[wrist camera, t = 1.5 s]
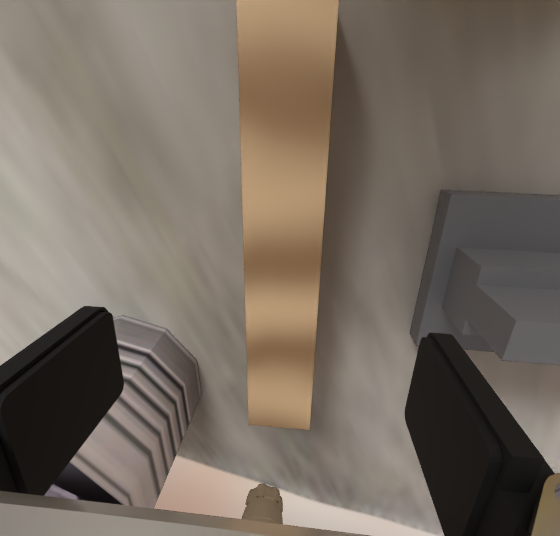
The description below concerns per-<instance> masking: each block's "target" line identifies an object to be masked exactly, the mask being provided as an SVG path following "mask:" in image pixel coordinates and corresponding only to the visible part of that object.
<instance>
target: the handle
mask: <svg viewBox="0 0 560 536" xmlns="http://www.w3.org/2000/svg"><path fill="white" fill-rule="evenodd" d="M246 505H247V507H246V508H245V511H244V514H243V516H242V519H243V520H251V521H259V522H267V523H275V524H283V523H282V511H283V507H282V506H283V503H282V497H281V496H280V493H279V490H278V489H277V488H276V487H269V486H267V485H265V484H259V485H258V487H256V488H254V489H251V490H250V491H249V494H248V496H247V500H246Z"/></svg>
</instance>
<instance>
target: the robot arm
mask: <svg viewBox="0 0 560 536" xmlns="http://www.w3.org/2000/svg"><path fill="white" fill-rule="evenodd" d="M123 388H124V379H123V374H122V368H121V362H120V356H119V350H118V344H117V338H116V332H115V326H114V321H113V316H112V314H111V313H109V312H108V311H107V309H106V308H104V307H92V306H84V307H82V308H81V309H79V310H78V311H76V312H75V313H74V314H72V315H71V316H69V317H68V318H67V319H65V320H64V321H62V322H61V323H60V324H58V325H57V326H55V327H54V328H53V329H51V330H50V331H48V332H47V333H46V334H44V335H43V336H41V337H40V338H39V339H37V340H36V341H34V342H33V343H32V344H30V345H29V346H27V347H26V348H25V349H23V350H22V351H20V352H19V353H18V354H16V355H15V356H13V357H12V358H11V359H9V360H8V361H6V362H5V363H4V364H2V365H1V366H0V536H368V535H361V534H353V533H345V532H338V531H330V530H321V529H314V528H306V527H298V526H291V525H283V524H275V523H267V522H259V521H251V520H243V519H235V518H225V517H218V516H210V515H202V514H194V513H185V512H177V511H168V510H160V509H152V508H144V507H135V506H127V505H119V504H110V503H101V502H93V501H84V500H75V499H67V498H58V497H49V496H44V495H45V494H46V492H47V491H48V490H49V489H50V487H51V486H52V485H53V483H54V482H55V481H56V479H57V478H58V477H59V475H60V474H61V473H62V471H63V470H64V469H65V467H66V466H67V465H68V464H69V462H70V461H71V460H72V458H73V457H74V456H75V454H76V453H77V452H78V450H79V449H80V448H81V446H82V445H83V444H84V442H85V441H86V440H87V438H88V437H89V436H90V435H91V433H92V432H93V431H94V429H95V428H96V427H97V425H98V424H99V423H100V421H101V420H102V419H103V417H104V416H105V415H106V413H107V412H108V411H109V410H110V408H111V407H112V406H113V404H114V403H115V402H116V400H117V399H118V398H119V396H120V395H121V393H122V391H123ZM405 420H406V424H407V427H408V430H409V433H410V436H411V439H412V441H413V444H414V447H415V450H416V453H417V456H418V459H419V462H420V465H421V468H422V471H423V474H424V477H425V480H426V483H427V486H428V488H429V491H430V494H431V497H432V500H433V503H434V506H435V509H436V512H437V515H438V518H439V521H440V524H441V527H442V530H443V533H444V535H445V536H560V473H556V474H555V473H554V472H553V471H552V469H551V468H550V467H549V465H548V464H547V462H546V461H545V459H544V458H543V457H542V455H541V454H540V452H539V451H538V450H537V448H536V447H535V446H534V444H533V443H532V442H531V440H530V439H529V438H528V436H527V435H526V434H525V432H524V431H523V429H522V428H521V427H520V425H519V424H518V423H517V421H516V420H515V419H514V417H513V416H512V415H511V413H510V412H509V411H508V409H507V408H506V407H505V405H504V404H503V402H502V401H501V400H500V398H499V397H498V396H497V394H496V393H495V392H494V390H493V389H492V388H491V386H490V385H489V384H488V382H487V381H486V379H485V378H484V377H483V375H482V374H481V373H480V371H479V370H478V369H477V367H476V366H475V365H474V363H473V362H472V361H471V359H470V358H469V356H468V355H467V354H466V352H465V351H464V350H463V348H462V347H461V346H460V344H459V343H458V342H457V340H456V339H455V338H454V336H453V335H452V334H444V333H431V332H430V333H429V334H428V335H427V337H422V338H421V340H420V344H419V349H418V353H417V358H416V362H415V367H414V371H413V376H412V380H411V385H410V389H409V394H408V398H407V402H406V407H405Z"/></svg>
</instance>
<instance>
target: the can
mask: <svg viewBox="0 0 560 536" xmlns="http://www.w3.org/2000/svg"><path fill="white" fill-rule="evenodd" d="M113 321H114V326H115V332H116V338H117V344H118V350H119V356H120V362H121V368H122V374H123V379H124V388H123V391H122V393H121V395H120V396H119V398H118V399H117V400H116V402H115V403H114V404H113V406H112V407H111V408H110V410H109V411H108V412H107V413H106V415H105V416H104V417H103V419H102V420H101V421H100V423H99V424H98V425H97V427H96V428H95V429H94V431H93V432H92V433H91V435H90V436H89V437H88V438H87V440H86V441H85V442H84V444H83V445H82V446H81V448H80V449H79V450H78V452H77V453H76V454H75V456H74V457H73V458H72V460H71V461H70V462H69V464H68V465H67V466H66V467H65V469H64V470H63V471H62V473H61V474H60V475H59V477H58V478H57V479H56V481H55V482H54V483H53V485H52V486H51V487H50V489H49V490H48V491H47V492H46V494H45V495H44V496H49V497H58V498H67V499H75V500H84V501H93V502H101V503H110V504H119V505H127V506H135V507H144V508H152V509H154V506H155V504H156V502H157V499H158V497H159V494H160V492H161V490H162V487H163V485H164V483H165V480H166V478H167V475H168V473H169V471H170V468H171V466H172V463H173V461H174V459H175V456H176V454H177V452H178V449H179V447H180V444H181V442H182V440H183V437H184V435H185V433H186V430H187V428H188V425H189V423H190V421H191V418H192V416H193V413H194V411H195V409H196V406H197V404H198V401H199V399H200V397H201V386H200V379H199V371H198V364H197V360H196V359H195V358H194V356H193V355H192V354H191V353H190V352H189V351H188V350H187V349H186V348H185V347H184V346H183V345H182V344H181V343H180V342H179V341H178V340H177V339H176V338H175V337H174V336H173V335H172V334H171V333H170V331H169V330H168V329H166V328H163V327H159V326H156V325H153V324H150V323H147V322H143V321H140V320H137V319H134V318H130V317H127V316H124V315H122V316H118V317H115V318H113Z"/></svg>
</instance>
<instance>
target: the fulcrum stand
mask: <svg viewBox="0 0 560 536" xmlns="http://www.w3.org/2000/svg"><path fill="white" fill-rule="evenodd" d="M430 332H431V333H444V334H452V335H453V336H454V338H455V339H456V340H457V342H458V343H459V344H460V346H461V347H462V348H463V349H465V350H478V351H491V352H495V353H496V354H497V355H498V356H499V358H500V359H501V360H503V361H515V362H528V363H540V364H552V365H560V196H557V195H536V194H514V193H492V192H471V191H449V190H441V193H440V198H439V202H438V207H437V212H436V216H435V221H434V225H433V230H432V234H431V239H430V243H429V248H428V253H427V257H426V262H425V266H424V271H423V275H422V280H421V284H420V289H419V294H418V298H417V303H416V307H415V312H414V316H413V321H412V325H411V330H410V334H411V336H412V338H413V340H414V342H415V344H416V346H419V344H420V340H421V338H422V337H427V335H428V334H429V333H430Z"/></svg>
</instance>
